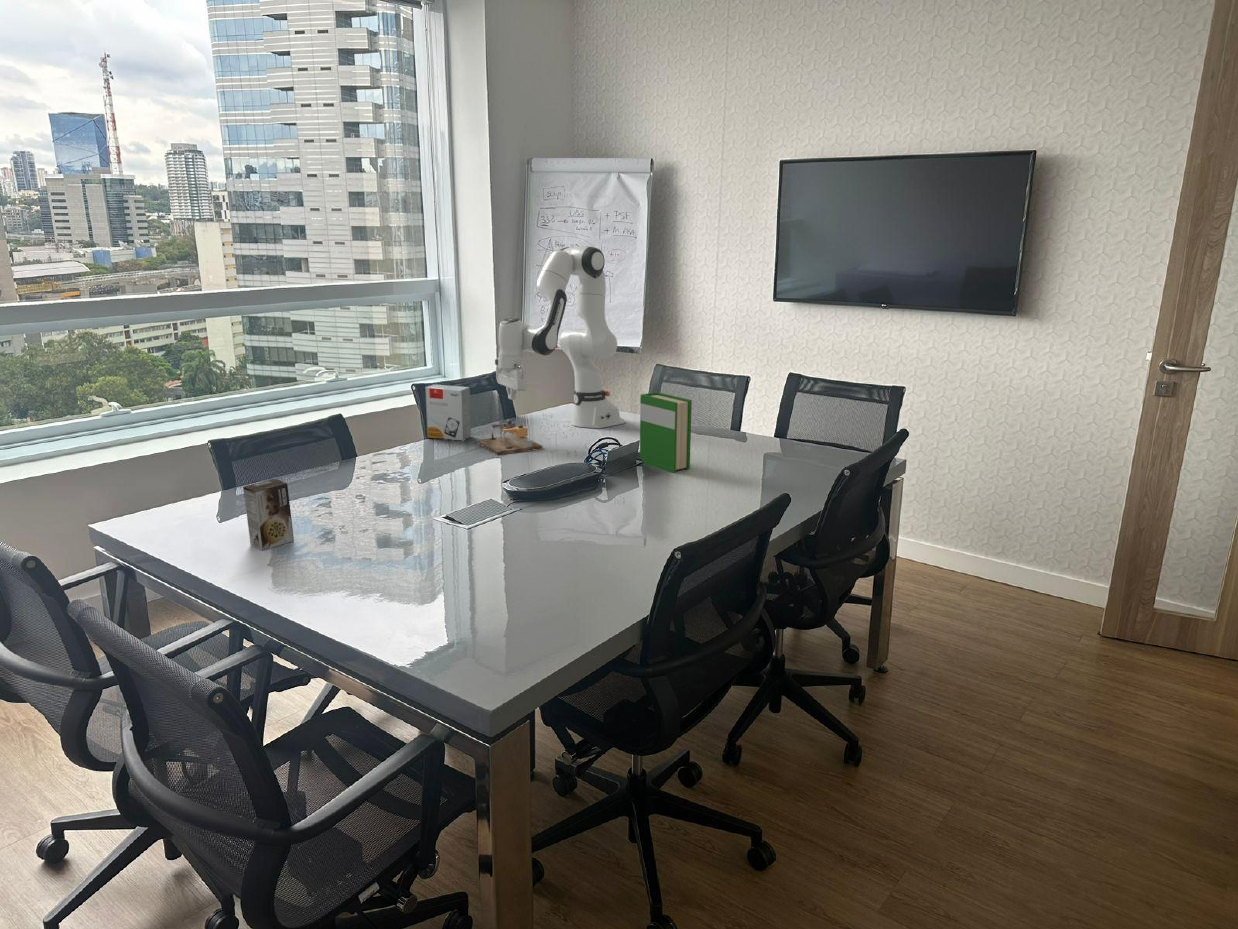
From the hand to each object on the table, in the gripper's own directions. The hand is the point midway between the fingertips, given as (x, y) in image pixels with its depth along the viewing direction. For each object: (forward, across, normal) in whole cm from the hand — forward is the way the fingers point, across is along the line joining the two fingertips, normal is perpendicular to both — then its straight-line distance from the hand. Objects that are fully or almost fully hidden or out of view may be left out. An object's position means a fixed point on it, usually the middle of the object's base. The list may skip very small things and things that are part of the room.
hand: (511, 399), depth 325 cm
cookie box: (+18, -68, +98) cm, 120 cm away
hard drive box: (+17, +18, +18) cm, 31 cm away
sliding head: (+15, -7, +2) cm, 16 cm away
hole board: (+17, -5, +4) cm, 18 cm away
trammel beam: (+15, -5, +2) cm, 16 cm away
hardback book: (+17, -56, -32) cm, 67 cm away
